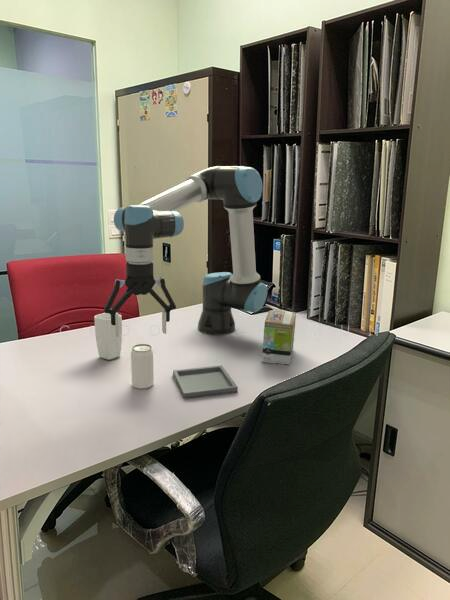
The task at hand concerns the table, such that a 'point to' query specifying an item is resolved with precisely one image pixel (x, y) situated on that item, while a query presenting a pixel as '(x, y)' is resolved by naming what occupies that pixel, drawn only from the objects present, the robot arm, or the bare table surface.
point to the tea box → (278, 337)
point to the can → (142, 366)
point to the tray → (204, 382)
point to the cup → (108, 336)
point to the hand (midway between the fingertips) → (141, 333)
